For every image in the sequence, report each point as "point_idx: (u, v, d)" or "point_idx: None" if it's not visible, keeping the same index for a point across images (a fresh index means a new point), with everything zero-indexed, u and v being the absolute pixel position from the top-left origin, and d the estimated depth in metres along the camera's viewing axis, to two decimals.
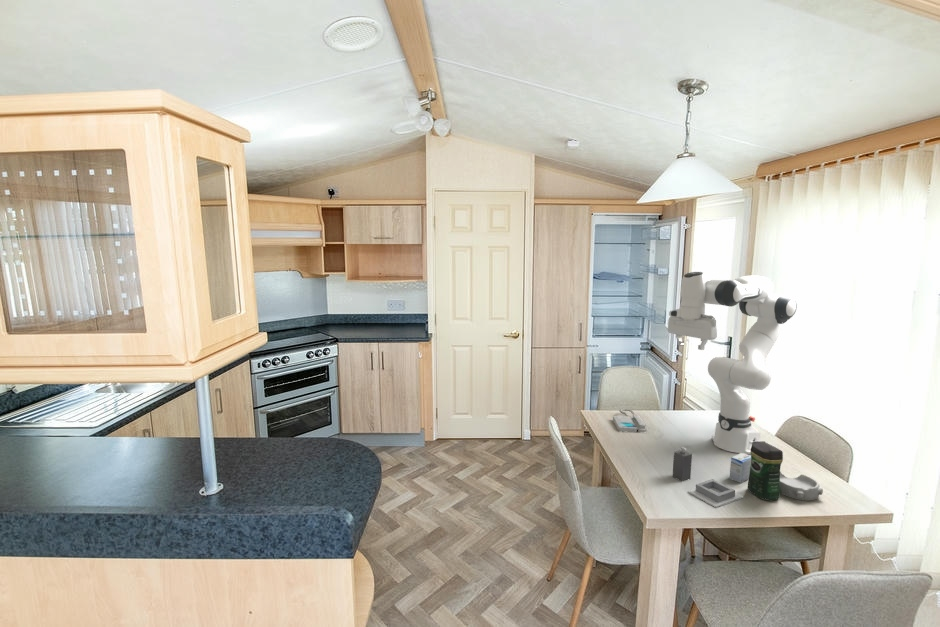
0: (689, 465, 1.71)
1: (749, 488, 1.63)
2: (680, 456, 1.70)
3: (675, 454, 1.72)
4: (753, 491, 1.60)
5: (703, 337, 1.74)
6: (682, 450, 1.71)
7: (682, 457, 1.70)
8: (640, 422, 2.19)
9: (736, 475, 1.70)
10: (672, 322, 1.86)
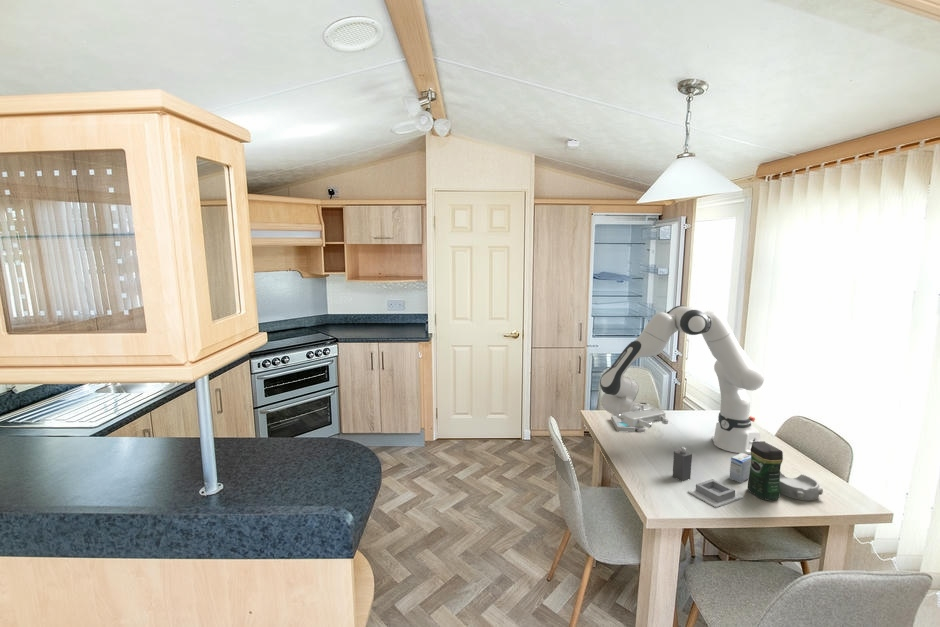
0: (689, 465, 1.71)
1: (749, 488, 1.63)
2: (680, 456, 1.70)
3: (675, 454, 1.72)
4: (753, 491, 1.60)
5: None
6: (682, 450, 1.71)
7: (682, 457, 1.70)
8: None
9: (736, 475, 1.70)
10: None
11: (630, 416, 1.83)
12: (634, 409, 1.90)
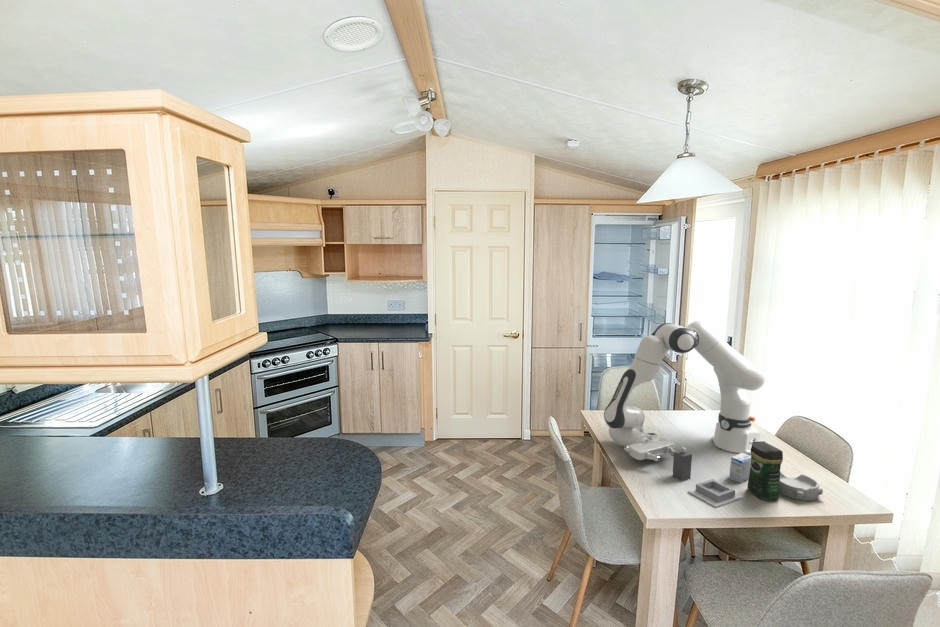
0: (689, 465, 1.71)
1: (749, 488, 1.63)
2: (680, 456, 1.70)
3: (675, 454, 1.72)
4: (753, 491, 1.60)
5: None
6: (682, 450, 1.71)
7: (682, 457, 1.70)
8: None
9: (736, 475, 1.70)
10: None
11: (637, 449, 1.81)
12: (642, 441, 1.88)
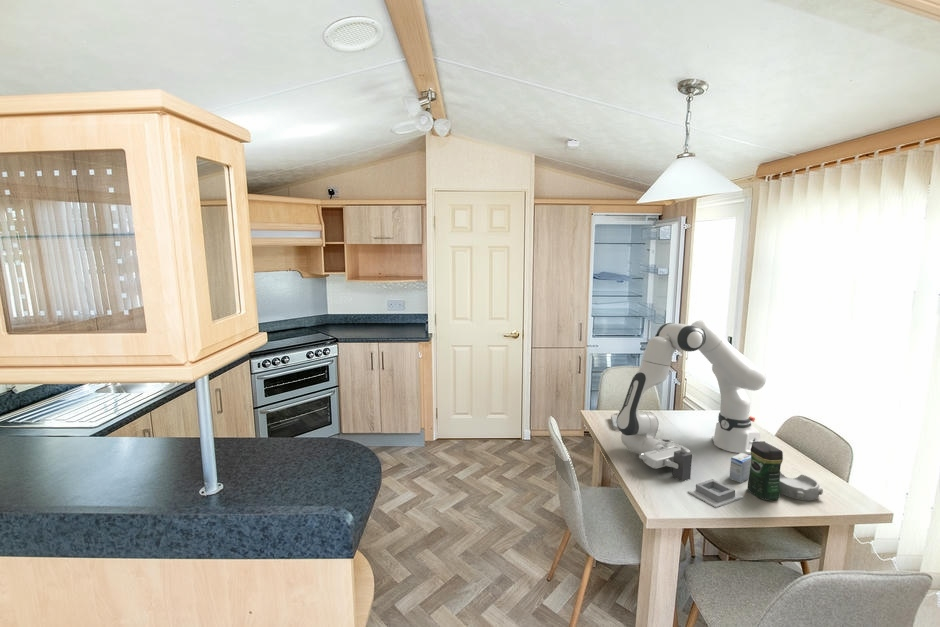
0: (689, 465, 1.71)
1: (749, 488, 1.63)
2: (680, 456, 1.70)
3: (675, 454, 1.72)
4: (753, 491, 1.60)
5: None
6: (682, 450, 1.71)
7: (682, 457, 1.70)
8: None
9: (736, 475, 1.70)
10: None
11: (653, 457, 1.74)
12: (657, 448, 1.81)
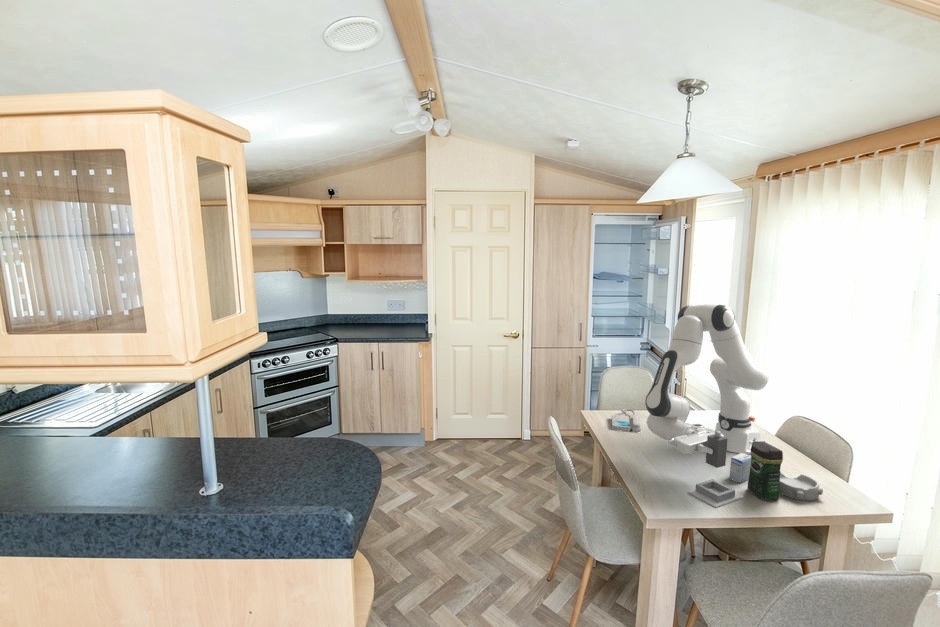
0: (724, 450, 1.57)
1: (749, 488, 1.63)
2: (715, 440, 1.57)
3: (709, 438, 1.59)
4: (753, 491, 1.60)
5: None
6: (717, 434, 1.58)
7: (717, 441, 1.56)
8: (635, 422, 2.19)
9: (736, 475, 1.70)
10: None
11: (685, 442, 1.61)
12: (688, 432, 1.67)
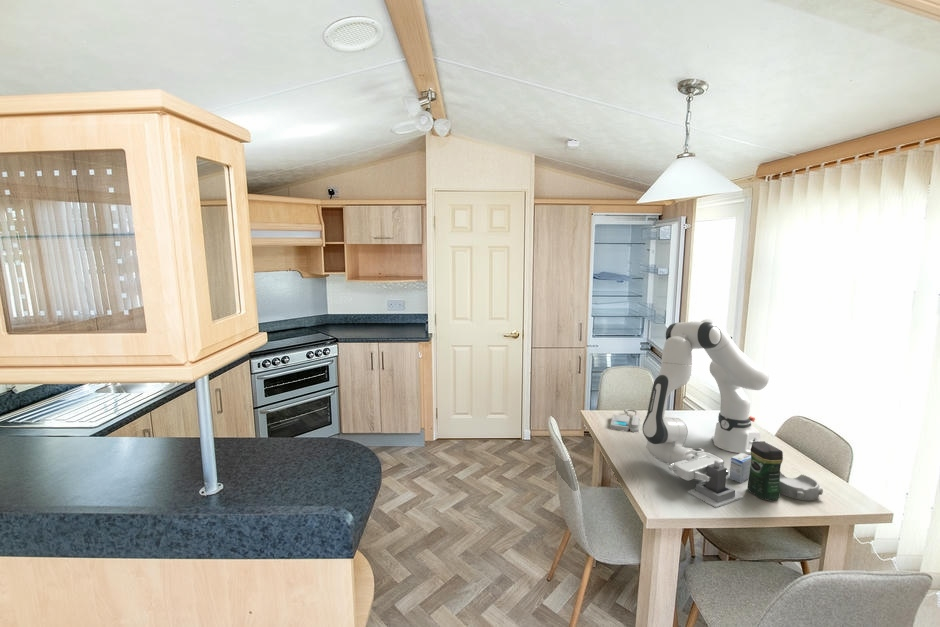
0: (724, 480, 1.59)
1: (749, 488, 1.63)
2: (714, 470, 1.58)
3: (708, 468, 1.60)
4: (753, 491, 1.60)
5: None
6: (716, 464, 1.59)
7: (716, 472, 1.57)
8: (633, 422, 2.19)
9: (736, 475, 1.70)
10: None
11: (685, 468, 1.61)
12: (688, 458, 1.68)
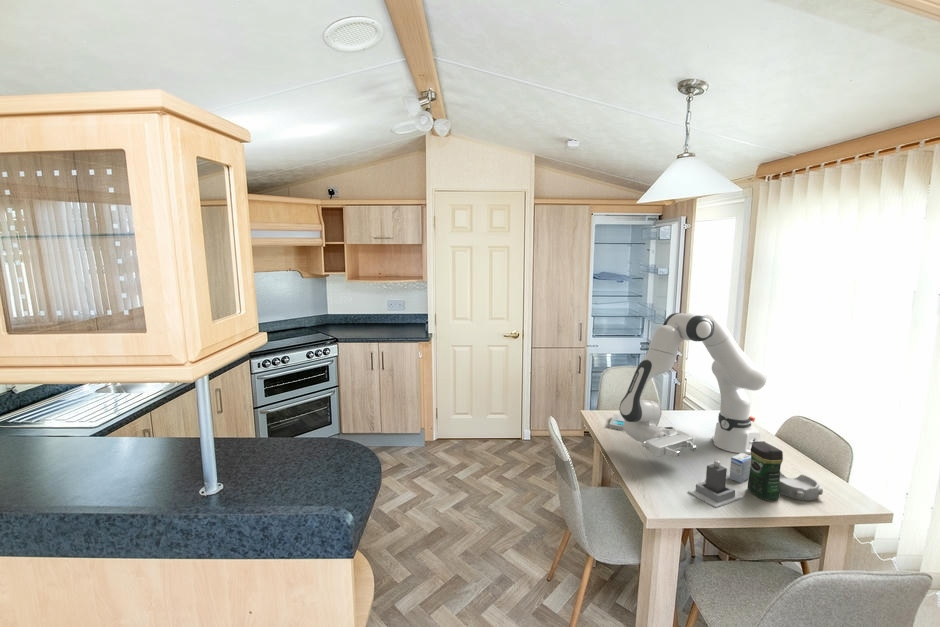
0: (724, 480, 1.59)
1: (749, 488, 1.63)
2: (714, 470, 1.58)
3: (708, 468, 1.60)
4: (753, 491, 1.60)
5: None
6: (716, 464, 1.59)
7: (716, 472, 1.57)
8: None
9: (736, 475, 1.70)
10: None
11: (655, 444, 1.73)
12: (659, 435, 1.80)
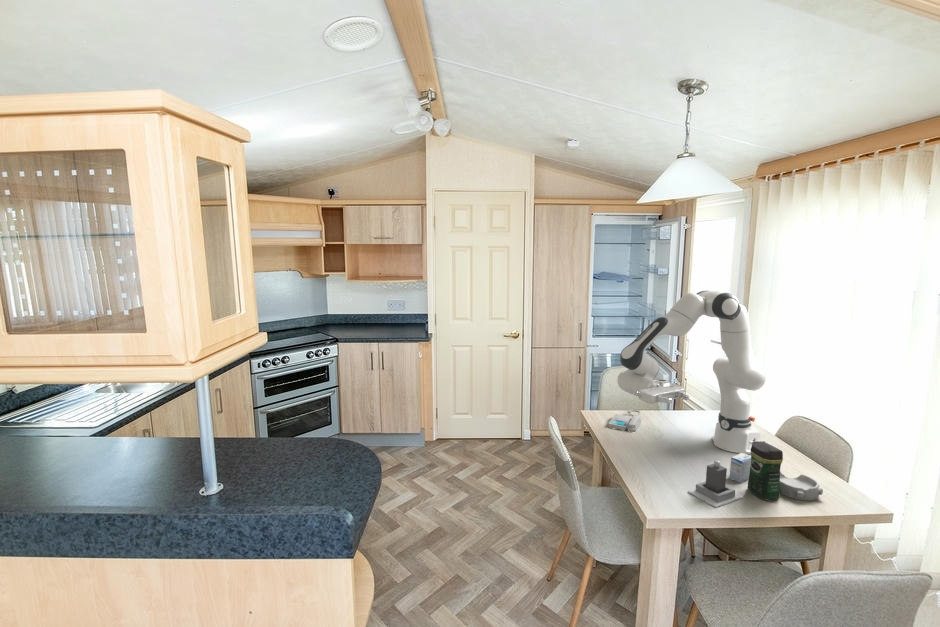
0: (724, 480, 1.59)
1: (749, 488, 1.63)
2: (714, 470, 1.58)
3: (708, 468, 1.60)
4: (753, 491, 1.60)
5: None
6: (716, 464, 1.59)
7: (716, 472, 1.57)
8: (631, 422, 2.19)
9: (736, 475, 1.70)
10: None
11: (648, 392, 1.74)
12: (652, 386, 1.81)
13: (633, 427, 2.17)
